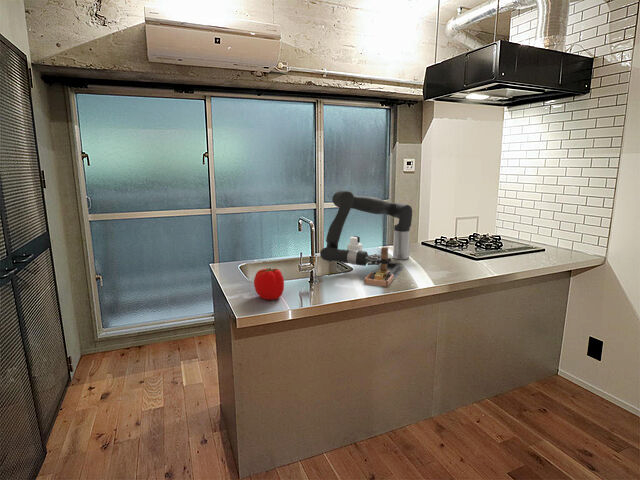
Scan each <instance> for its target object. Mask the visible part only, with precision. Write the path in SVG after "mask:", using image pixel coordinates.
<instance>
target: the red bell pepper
mask: <svg viewBox="0 0 640 480" xmlns="http://www.w3.org/2000/svg"><path fill="white" fill-rule="evenodd" d="M253 279H254V280H253V286H254V289H255V292H256V294H257V295H258V296H259V297H260V298H261V299H263V300H267V301H269V300H270V301H271V300H277V299H280V297H281V296H282V295H283V292H284V290H285V281H284V280H285V279H284V276H283V274H282V272H281V270H280V269H278V268H268V267H267V268H262V269H260V270H258V271H257V272H256V273H255V276H254V278H253Z"/></svg>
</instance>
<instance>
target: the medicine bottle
mask: <svg viewBox="0 0 640 480" xmlns="http://www.w3.org/2000/svg"><path fill="white" fill-rule="evenodd" d="M346 247H347V249H346V250H356V251H363V243H361V238H360V236H357V235H353V236H350V238H349V243H348V244H347V246H346Z"/></svg>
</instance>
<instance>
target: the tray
mask: <svg viewBox="0 0 640 480" xmlns="http://www.w3.org/2000/svg"><path fill="white" fill-rule="evenodd" d="M373 272H374V271H370V273H368V275H366V276H365V277H364V279H363V284H364V285H372V286H380V287H387V288H388V287H389V286H390V284H392V282H393V280H395V279H394V274H392V275H391V276H390V278H387V280H384V281H382V280H374V279H372V278H373V277H374V276H373Z"/></svg>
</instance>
